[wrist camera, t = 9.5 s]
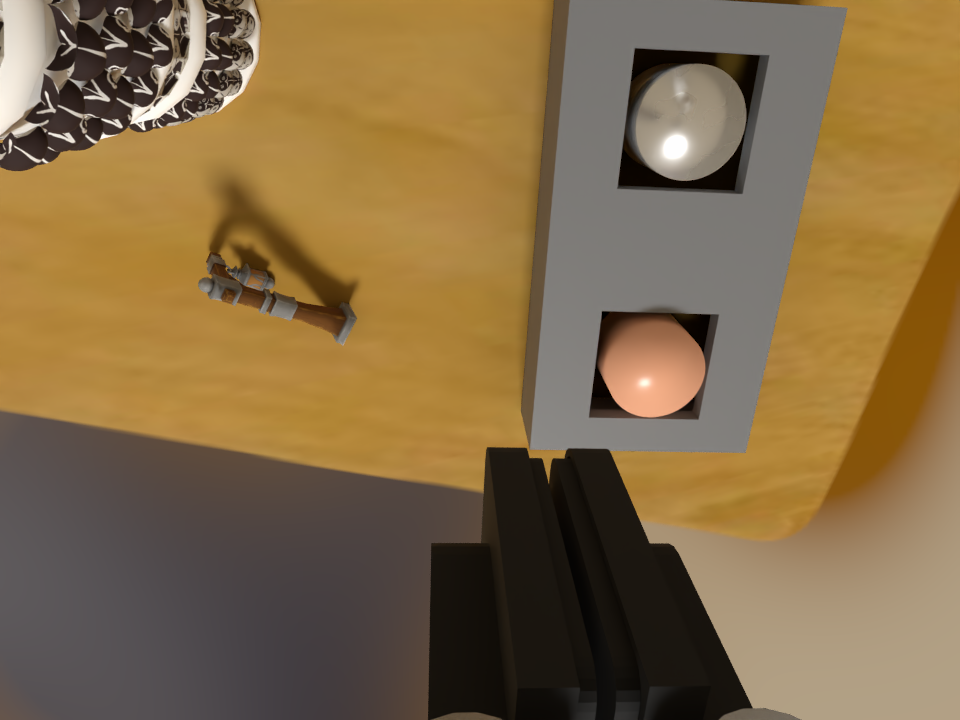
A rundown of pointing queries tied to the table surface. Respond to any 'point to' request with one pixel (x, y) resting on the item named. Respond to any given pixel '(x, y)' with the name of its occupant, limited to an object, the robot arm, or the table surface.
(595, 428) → the button housing
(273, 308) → the wooden post with brackets
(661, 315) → the terracotta plunger
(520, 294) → the table surface
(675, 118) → the cream short cylinder
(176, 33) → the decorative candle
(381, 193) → the table surface
